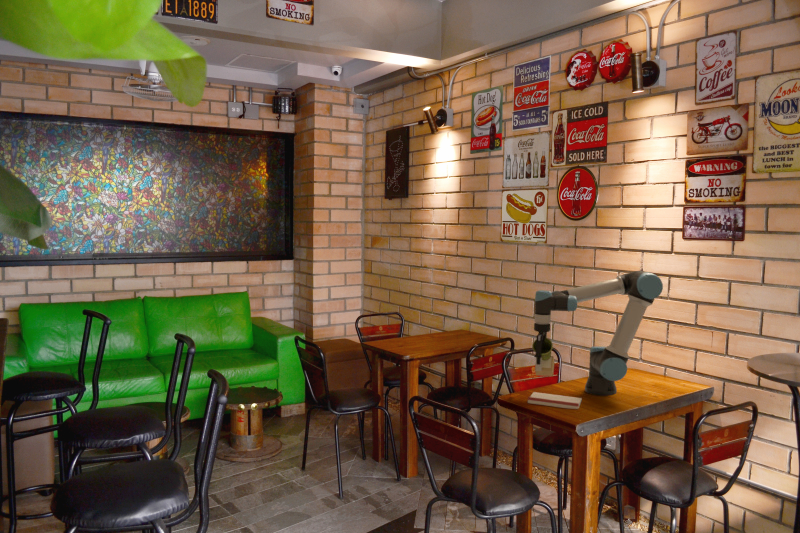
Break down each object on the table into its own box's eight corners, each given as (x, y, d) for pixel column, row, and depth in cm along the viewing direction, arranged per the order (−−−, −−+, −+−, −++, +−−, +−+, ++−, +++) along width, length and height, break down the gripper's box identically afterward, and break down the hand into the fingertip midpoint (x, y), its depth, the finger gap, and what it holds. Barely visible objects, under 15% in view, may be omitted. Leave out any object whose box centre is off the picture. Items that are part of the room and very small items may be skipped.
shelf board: (581, 401, 285) (581, 395, 284) (578, 409, 272) (578, 403, 271) (533, 394, 294) (533, 389, 293) (527, 402, 281) (528, 397, 281)
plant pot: (550, 366, 282) (548, 356, 276) (531, 360, 287) (529, 350, 280) (557, 350, 286) (555, 340, 280) (539, 344, 291) (536, 335, 285)
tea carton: (536, 375, 287) (537, 360, 291) (553, 376, 284) (554, 361, 288) (534, 369, 283) (536, 355, 288) (551, 370, 280) (553, 356, 285)
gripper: (538, 318, 296) (537, 361, 298) (529, 326, 275) (528, 372, 277) (554, 319, 293) (552, 363, 295) (546, 327, 272) (544, 374, 274)
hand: (540, 368), depth 286 cm, fingers open, 11 cm apart
